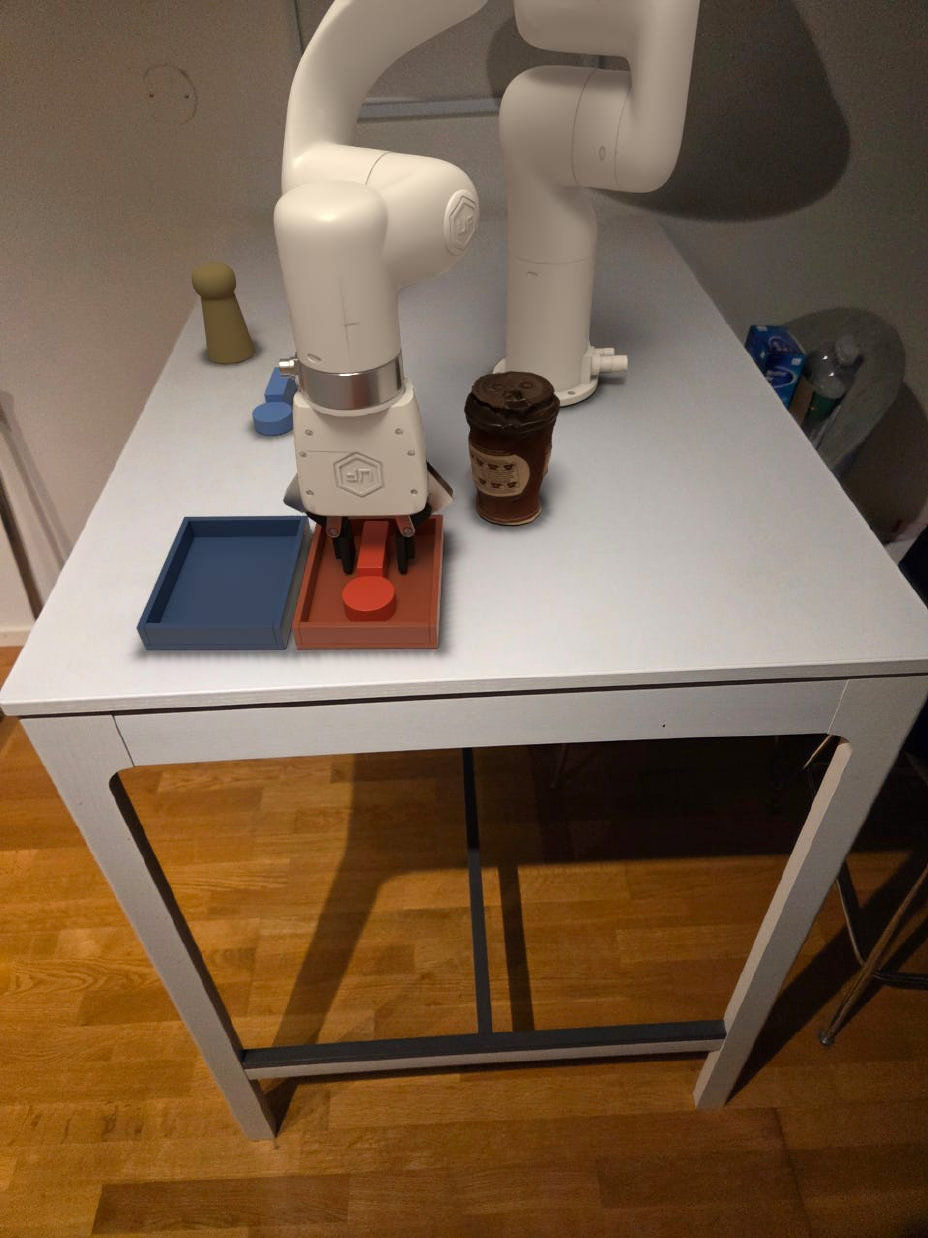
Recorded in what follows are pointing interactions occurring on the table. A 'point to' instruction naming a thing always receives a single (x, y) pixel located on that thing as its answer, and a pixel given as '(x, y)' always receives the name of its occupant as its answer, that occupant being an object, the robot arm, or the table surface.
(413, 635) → the red tray
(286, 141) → the robot arm
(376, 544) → the red spoon
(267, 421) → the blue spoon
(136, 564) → the table surface
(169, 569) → the blue tray
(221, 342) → the olive brown pawn
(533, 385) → the coffee cup
